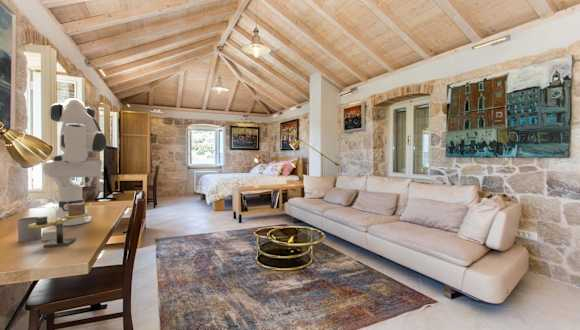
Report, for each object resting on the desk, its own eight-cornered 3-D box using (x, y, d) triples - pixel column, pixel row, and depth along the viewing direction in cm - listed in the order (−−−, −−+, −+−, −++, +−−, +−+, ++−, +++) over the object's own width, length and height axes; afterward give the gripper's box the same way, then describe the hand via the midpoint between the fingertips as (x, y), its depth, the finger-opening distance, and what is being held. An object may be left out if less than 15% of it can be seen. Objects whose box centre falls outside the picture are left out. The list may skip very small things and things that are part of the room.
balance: (34, 243, 131) (34, 214, 130) (91, 238, 139) (91, 212, 138) (24, 249, 122) (23, 218, 122) (85, 244, 130) (84, 215, 130)
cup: (27, 241, 133) (26, 221, 133) (13, 240, 134) (13, 220, 134) (45, 236, 141) (45, 217, 141) (32, 235, 143) (32, 216, 142)
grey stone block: (43, 238, 139) (43, 230, 138) (56, 237, 142) (56, 229, 141) (42, 241, 135) (42, 233, 134) (56, 239, 138) (55, 231, 138)
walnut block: (72, 213, 134) (72, 203, 134) (84, 213, 136) (84, 202, 136) (68, 215, 129) (68, 205, 129) (81, 215, 131) (81, 204, 131)
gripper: (103, 157, 138) (103, 185, 139) (53, 157, 131) (53, 186, 132) (99, 157, 133) (100, 186, 133) (46, 157, 125) (47, 187, 126)
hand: (76, 186), depth 132 cm, fingers open, 8 cm apart
